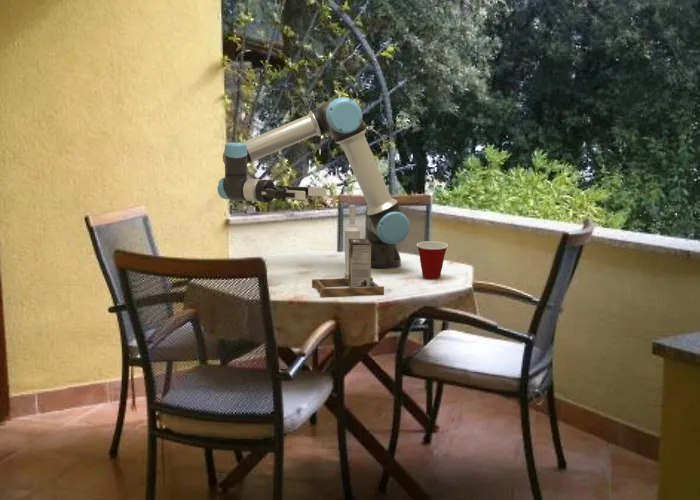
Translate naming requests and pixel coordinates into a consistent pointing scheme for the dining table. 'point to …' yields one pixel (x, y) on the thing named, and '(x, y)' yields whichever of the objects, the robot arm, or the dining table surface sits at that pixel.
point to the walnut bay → (350, 291)
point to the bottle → (350, 237)
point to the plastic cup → (431, 258)
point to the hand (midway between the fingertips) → (315, 193)
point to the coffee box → (359, 262)
